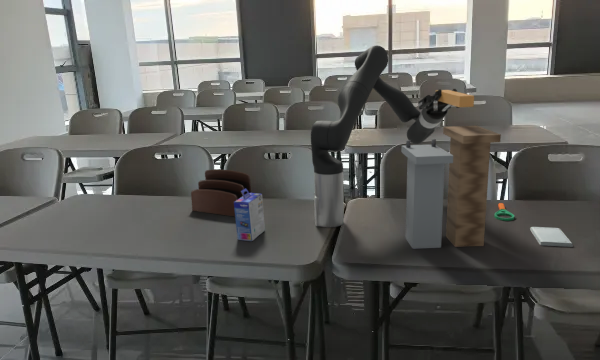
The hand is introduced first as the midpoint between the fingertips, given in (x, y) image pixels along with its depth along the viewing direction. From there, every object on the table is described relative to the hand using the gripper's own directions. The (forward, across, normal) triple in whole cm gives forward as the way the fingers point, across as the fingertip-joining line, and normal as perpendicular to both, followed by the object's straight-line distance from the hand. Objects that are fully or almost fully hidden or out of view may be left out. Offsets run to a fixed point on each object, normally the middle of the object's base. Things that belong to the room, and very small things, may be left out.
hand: (447, 91), depth 149 cm
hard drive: (-3, +25, +46) cm, 53 cm away
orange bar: (+3, 0, +5) cm, 6 cm away
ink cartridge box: (-13, -62, +40) cm, 75 cm away
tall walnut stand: (-3, 0, +45) cm, 45 cm away
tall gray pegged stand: (-3, -12, +45) cm, 47 cm away
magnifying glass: (-23, +21, +35) cm, 47 cm away
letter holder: (-37, -74, +27) cm, 87 cm away
